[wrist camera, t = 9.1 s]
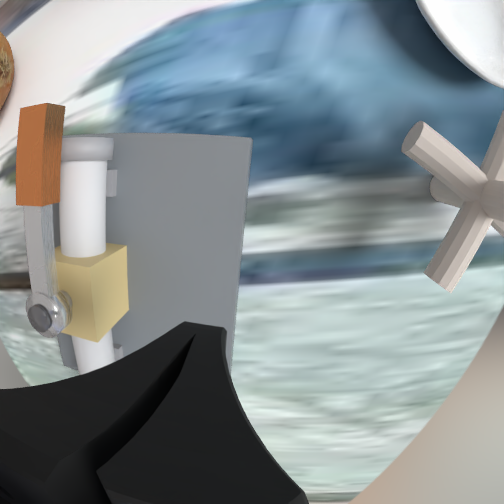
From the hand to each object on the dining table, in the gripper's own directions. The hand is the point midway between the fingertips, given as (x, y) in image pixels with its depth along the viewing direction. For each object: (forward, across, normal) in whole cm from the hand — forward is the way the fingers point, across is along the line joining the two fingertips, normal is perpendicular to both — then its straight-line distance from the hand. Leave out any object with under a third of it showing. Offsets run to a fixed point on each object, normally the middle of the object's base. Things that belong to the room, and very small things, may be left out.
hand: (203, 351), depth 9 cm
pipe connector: (+11, -12, -6) cm, 17 cm away
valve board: (+10, +7, +2) cm, 13 cm away
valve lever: (+4, +9, -2) cm, 10 cm away
